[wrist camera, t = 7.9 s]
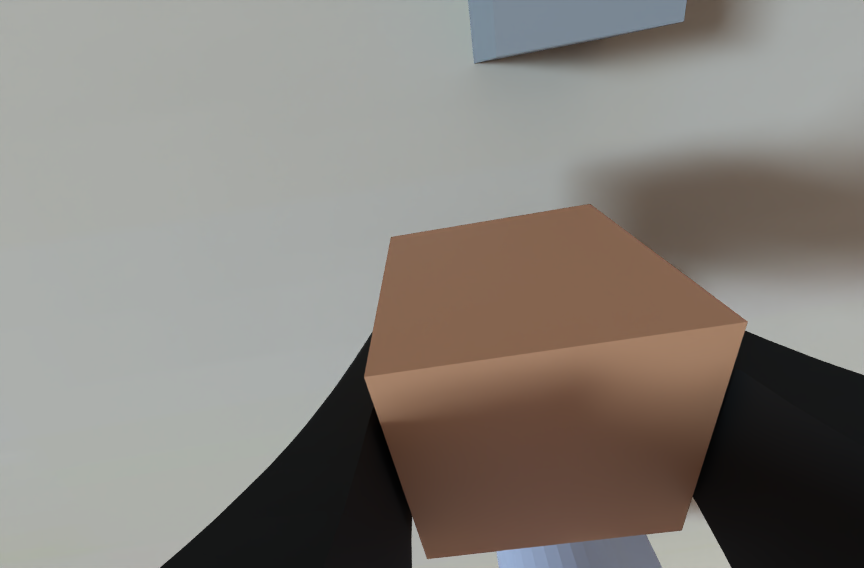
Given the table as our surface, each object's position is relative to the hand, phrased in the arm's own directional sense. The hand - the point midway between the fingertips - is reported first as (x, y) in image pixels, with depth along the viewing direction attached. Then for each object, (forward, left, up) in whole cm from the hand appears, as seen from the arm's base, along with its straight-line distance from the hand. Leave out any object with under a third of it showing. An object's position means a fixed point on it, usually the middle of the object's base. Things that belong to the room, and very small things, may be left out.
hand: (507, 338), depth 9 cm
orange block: (0, 0, -2) cm, 2 cm away
